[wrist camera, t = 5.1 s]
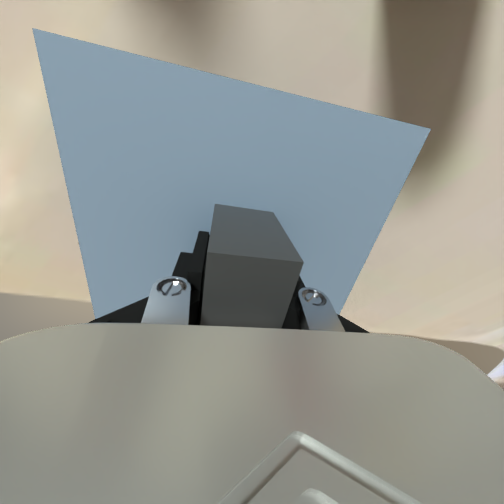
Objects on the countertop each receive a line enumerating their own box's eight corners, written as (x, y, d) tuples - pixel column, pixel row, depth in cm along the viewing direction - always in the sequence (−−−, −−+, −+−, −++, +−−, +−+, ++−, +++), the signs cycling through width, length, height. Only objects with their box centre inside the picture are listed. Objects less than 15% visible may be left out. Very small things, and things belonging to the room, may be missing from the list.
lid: (394, 130, 12) (591, 124, 6) (309, 328, 19) (351, 427, 13) (77, 53, 9) (-279, -143, 3) (118, 320, 17) (48, 440, 10)
